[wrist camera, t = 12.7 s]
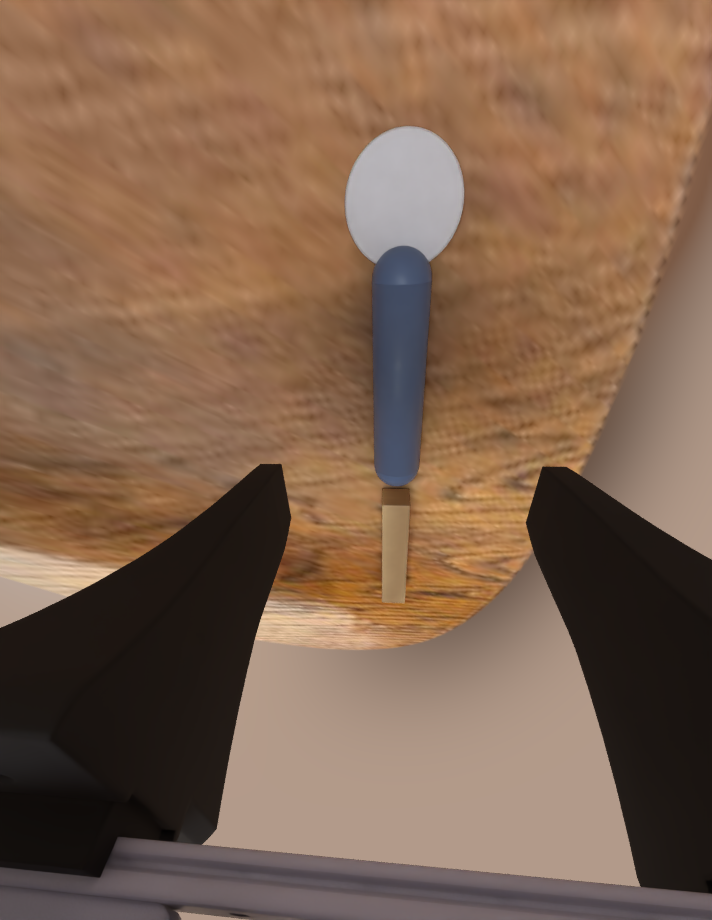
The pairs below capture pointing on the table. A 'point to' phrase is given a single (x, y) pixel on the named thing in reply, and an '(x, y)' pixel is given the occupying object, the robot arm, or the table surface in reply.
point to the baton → (394, 543)
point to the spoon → (402, 275)
